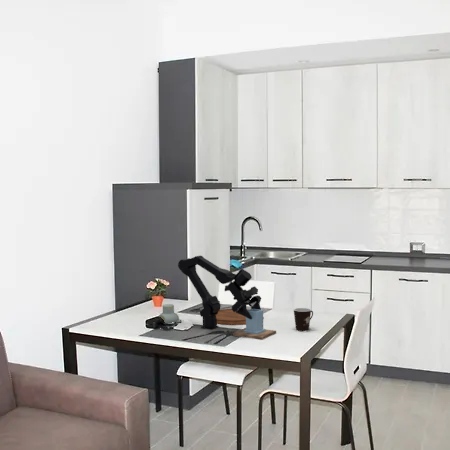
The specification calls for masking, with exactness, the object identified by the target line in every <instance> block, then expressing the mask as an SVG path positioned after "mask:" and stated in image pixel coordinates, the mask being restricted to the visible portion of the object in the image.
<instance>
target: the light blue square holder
mask: <svg viewBox="0 0 450 450" xmlns="http://www.w3.org/2000/svg"><path fill="white" fill-rule="evenodd" d="M248 312H249V313H250V315H251V316H252V319H251V320H250V319H249V318H247V317H246V325H245V328H246V330H244V333H250V334H256V335H257V334H260V333H263V332H265V331H266V330H267V329H266V328H264V319H263V317H264V310H263V309H261V310H259V309H251V308H250V309H248Z"/></svg>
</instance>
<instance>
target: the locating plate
mask: <svg viewBox="0 0 450 450" xmlns="http://www.w3.org/2000/svg"><path fill="white" fill-rule="evenodd" d="M244 330H246V327H244V328H243V329H242V328H241V329H239V330H237V331H234V332H232V336H234V337H235V336H236V337H241V338H248V339H255V340H261V341H262V340H264V339H266V338H267V339H268V338H269V337H271V336H273V335H275V334H277V330H274V329H266V331H265V332H263V333H260V334H257V335H256V334H250V333H244Z"/></svg>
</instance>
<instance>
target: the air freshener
mask: <svg viewBox="0 0 450 450" xmlns="http://www.w3.org/2000/svg"><path fill="white" fill-rule="evenodd" d="M158 317H161V318H162V319H163V320H164V322H165V323H172V322H176V323H177V321H180V317H179V314H178V313H176V312H175V306H174V304H173V303H167V304H166V303H164V304H163V305H162V312H161V313H160V314H159V315H158Z"/></svg>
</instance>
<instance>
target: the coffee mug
mask: <svg viewBox="0 0 450 450" xmlns="http://www.w3.org/2000/svg"><path fill="white" fill-rule="evenodd" d="M293 316H294V324H295V330H296V331H297V330H298V331H297V332H308V331H309V330H310V322H311V320H312V318H313V316H314V311H313V310H312V309H311V308H307V307H296V308H294V309H293ZM307 330H308V331H307Z"/></svg>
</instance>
